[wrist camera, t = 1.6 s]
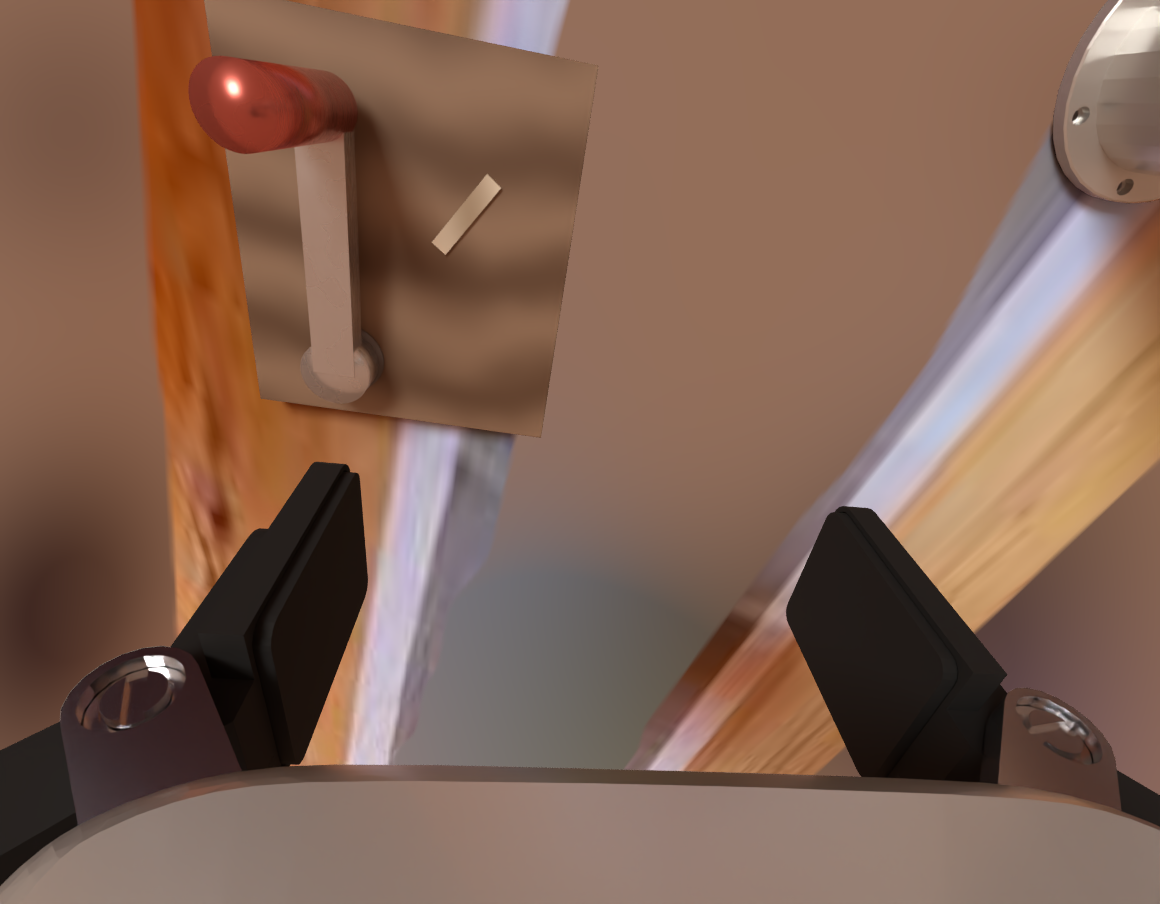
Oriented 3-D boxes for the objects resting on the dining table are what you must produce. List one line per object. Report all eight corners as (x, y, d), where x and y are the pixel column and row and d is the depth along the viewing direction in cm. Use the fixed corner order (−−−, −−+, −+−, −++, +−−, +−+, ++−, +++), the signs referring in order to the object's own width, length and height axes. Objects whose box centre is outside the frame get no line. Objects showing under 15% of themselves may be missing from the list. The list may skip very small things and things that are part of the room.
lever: (290, 63, 28) (165, 44, 19) (373, 79, 28) (287, 68, 20) (316, 383, 37) (240, 467, 28) (379, 392, 37) (322, 478, 29)
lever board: (224, -10, 28) (199, -18, 26) (596, 67, 30) (598, 65, 28) (274, 385, 39) (259, 399, 38) (542, 424, 41) (540, 439, 39)
